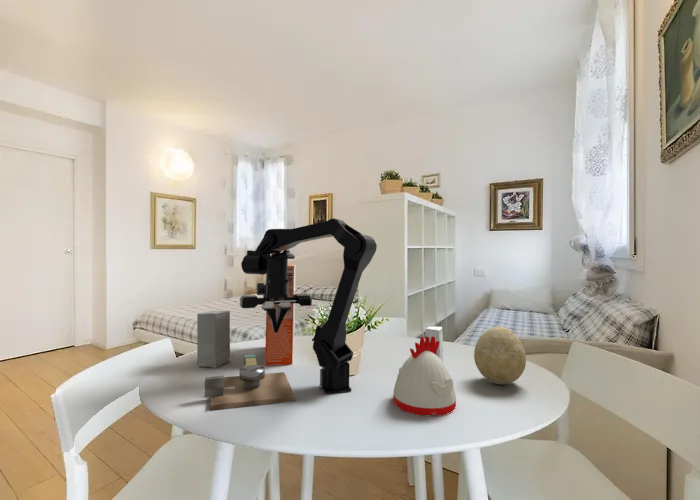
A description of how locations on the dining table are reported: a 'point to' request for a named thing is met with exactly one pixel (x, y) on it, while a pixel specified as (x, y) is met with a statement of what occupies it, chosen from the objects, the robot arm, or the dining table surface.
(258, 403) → the base
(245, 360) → the metal scoop
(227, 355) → the skincare box
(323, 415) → the dining table surface
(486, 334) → the fossilized egg
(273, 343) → the orange upright rectangular box
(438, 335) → the skincare box
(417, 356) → the kitchen timer
